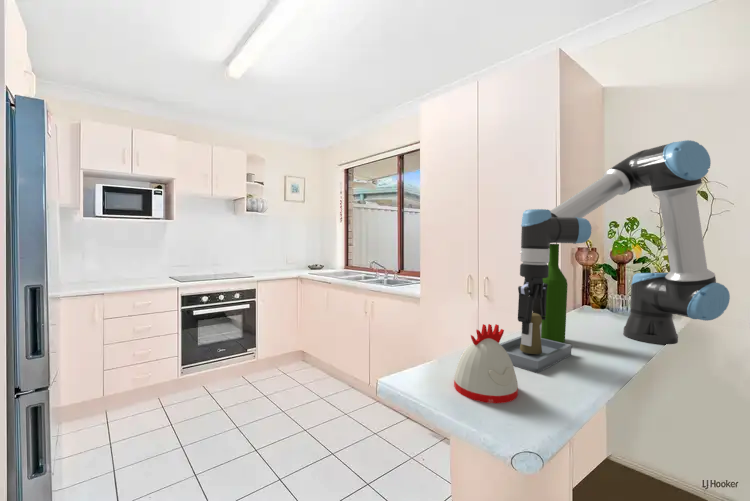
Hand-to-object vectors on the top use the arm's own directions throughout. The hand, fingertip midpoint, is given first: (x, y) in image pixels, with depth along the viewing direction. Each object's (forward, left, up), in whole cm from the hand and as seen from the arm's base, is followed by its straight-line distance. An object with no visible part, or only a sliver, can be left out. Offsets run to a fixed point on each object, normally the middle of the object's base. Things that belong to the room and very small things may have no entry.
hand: (531, 342), depth 104 cm
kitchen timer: (+24, +18, -4) cm, 30 cm away
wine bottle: (-17, -14, -4) cm, 22 cm away
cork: (0, 0, -2) cm, 2 cm away
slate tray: (0, 0, -4) cm, 4 cm away
